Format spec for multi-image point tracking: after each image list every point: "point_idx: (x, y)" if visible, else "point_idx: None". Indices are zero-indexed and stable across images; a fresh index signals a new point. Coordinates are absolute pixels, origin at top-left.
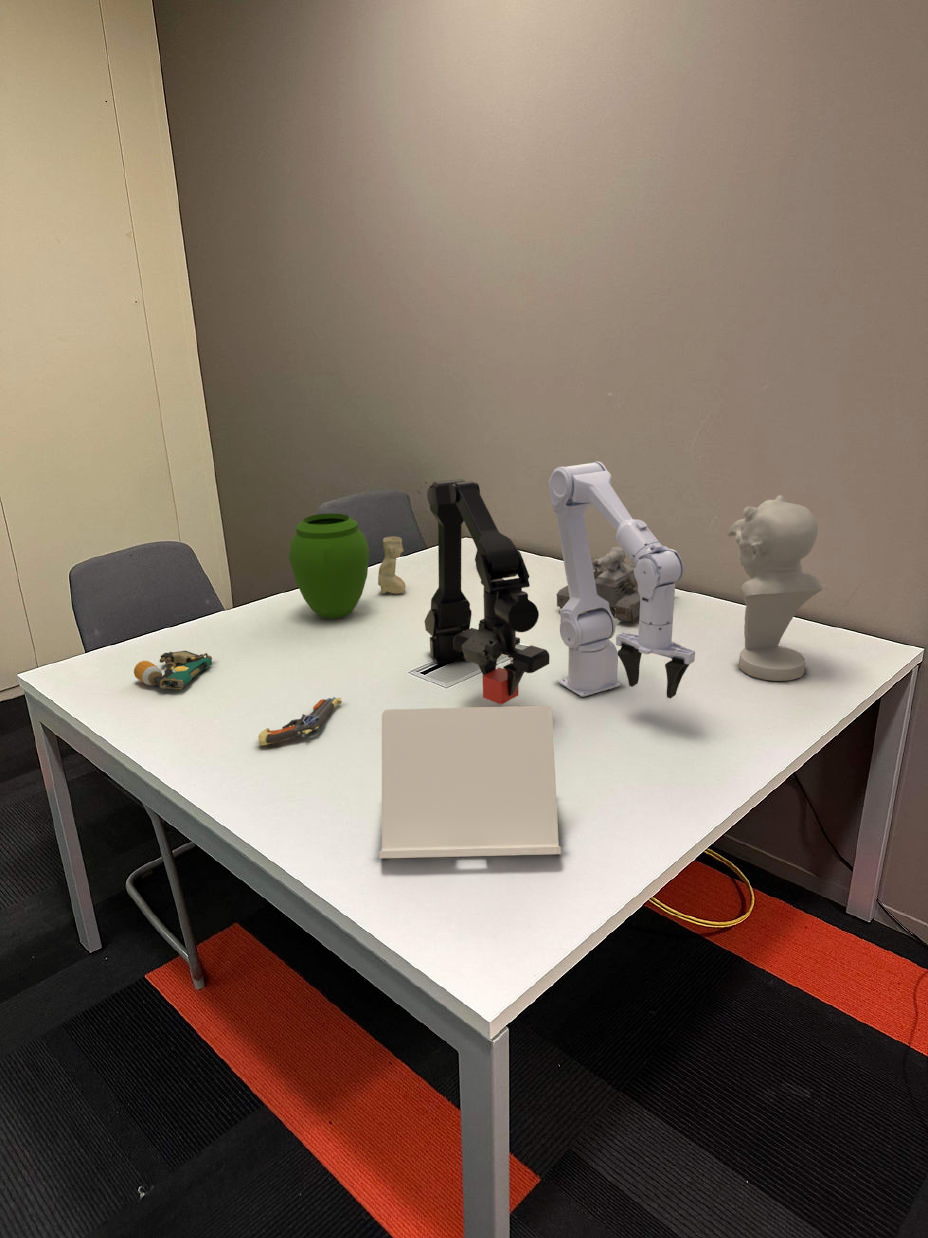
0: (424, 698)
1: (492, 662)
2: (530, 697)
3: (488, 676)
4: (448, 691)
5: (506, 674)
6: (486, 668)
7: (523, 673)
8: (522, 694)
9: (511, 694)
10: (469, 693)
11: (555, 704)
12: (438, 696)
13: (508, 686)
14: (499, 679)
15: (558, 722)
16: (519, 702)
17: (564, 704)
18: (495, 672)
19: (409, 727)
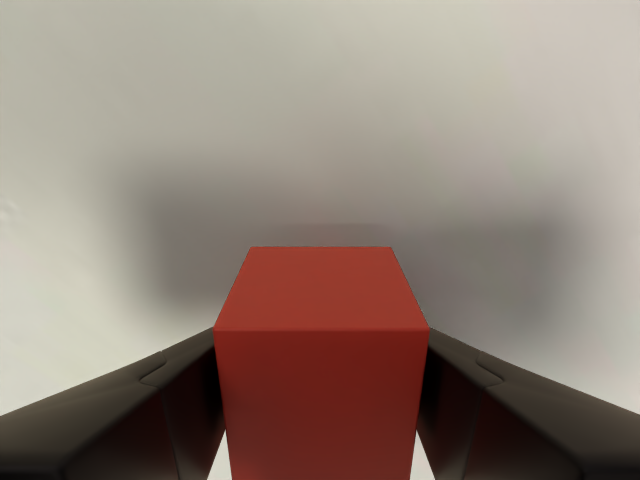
0: (6, 365)
1: (176, 439)
2: (344, 63)
3: (271, 475)
4: (3, 267)
5: (357, 393)
6: (200, 476)
7: (516, 370)
8: (286, 60)
9: None
10: (83, 225)
11: (508, 47)
12: (23, 324)
13: None
14: (368, 470)
15: (599, 206)
16: (333, 153)
17: (555, 11)
18: (262, 410)
19: None
